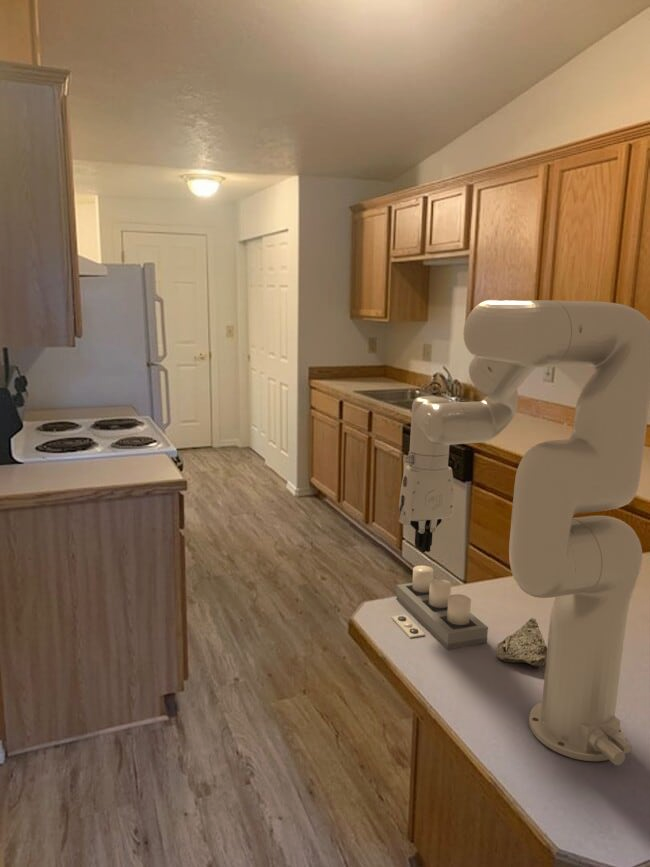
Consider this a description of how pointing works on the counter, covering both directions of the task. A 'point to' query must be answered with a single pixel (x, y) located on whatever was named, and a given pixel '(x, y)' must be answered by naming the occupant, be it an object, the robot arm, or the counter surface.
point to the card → (407, 626)
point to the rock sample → (524, 646)
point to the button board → (441, 620)
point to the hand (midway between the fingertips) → (422, 549)
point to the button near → (458, 609)
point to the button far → (422, 578)
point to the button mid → (439, 593)
